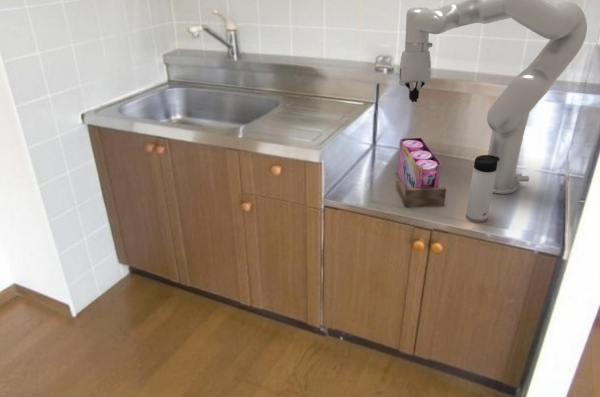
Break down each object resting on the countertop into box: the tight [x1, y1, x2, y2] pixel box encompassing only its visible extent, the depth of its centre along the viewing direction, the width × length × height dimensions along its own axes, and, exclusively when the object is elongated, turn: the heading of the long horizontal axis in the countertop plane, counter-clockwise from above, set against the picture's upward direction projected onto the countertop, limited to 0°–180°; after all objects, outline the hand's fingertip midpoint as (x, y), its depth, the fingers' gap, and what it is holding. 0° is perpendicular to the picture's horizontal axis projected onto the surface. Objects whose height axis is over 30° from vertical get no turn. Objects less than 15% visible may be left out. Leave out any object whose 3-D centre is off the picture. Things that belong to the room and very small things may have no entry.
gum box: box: [397, 137, 442, 189], centre depth 165 cm, size 24×8×14 cm, turn 4°
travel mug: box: [465, 154, 500, 224], centre depth 145 cm, size 6×7×20 cm
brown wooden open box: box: [395, 179, 447, 208], centre depth 162 cm, size 12×14×6 cm
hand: (413, 100), depth 174 cm, fingers closed
